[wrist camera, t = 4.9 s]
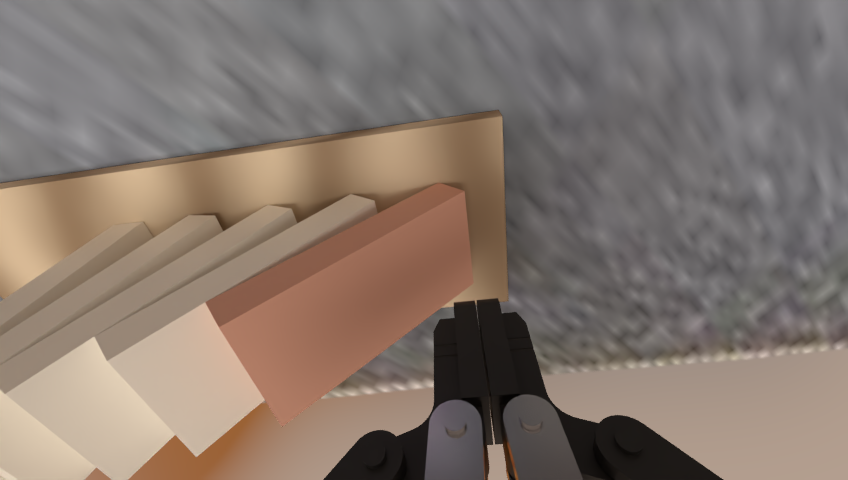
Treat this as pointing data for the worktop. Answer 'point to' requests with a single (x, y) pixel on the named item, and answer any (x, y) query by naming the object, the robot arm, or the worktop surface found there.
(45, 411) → the domino
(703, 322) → the worktop surface
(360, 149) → the board
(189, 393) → the domino
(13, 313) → the domino
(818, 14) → the worktop surface
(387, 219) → the domino
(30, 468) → the domino
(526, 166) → the worktop surface
